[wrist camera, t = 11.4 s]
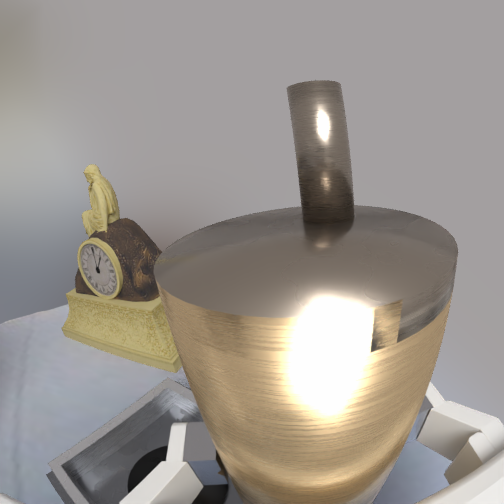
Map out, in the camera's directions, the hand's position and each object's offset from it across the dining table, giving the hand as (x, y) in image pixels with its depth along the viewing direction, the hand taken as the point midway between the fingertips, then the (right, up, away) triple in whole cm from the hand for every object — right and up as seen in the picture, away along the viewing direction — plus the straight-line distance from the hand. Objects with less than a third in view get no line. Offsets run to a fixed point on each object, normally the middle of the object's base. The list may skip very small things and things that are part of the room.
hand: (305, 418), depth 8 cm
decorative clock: (-23, -9, +40) cm, 47 cm away
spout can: (+1, -6, +1) cm, 7 cm away
